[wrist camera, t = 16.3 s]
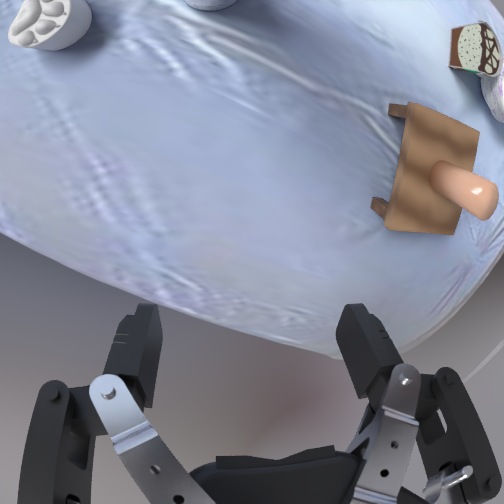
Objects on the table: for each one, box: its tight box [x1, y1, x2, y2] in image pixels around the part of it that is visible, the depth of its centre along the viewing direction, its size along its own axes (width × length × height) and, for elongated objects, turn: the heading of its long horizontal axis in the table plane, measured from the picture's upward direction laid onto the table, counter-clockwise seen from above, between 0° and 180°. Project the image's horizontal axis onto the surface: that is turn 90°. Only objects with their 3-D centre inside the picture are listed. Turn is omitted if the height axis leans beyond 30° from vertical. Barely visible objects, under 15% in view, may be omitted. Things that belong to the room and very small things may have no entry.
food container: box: [448, 20, 503, 79], centre depth 25 cm, size 12×6×10 cm, turn 171°
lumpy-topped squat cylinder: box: [8, 0, 92, 51], centre depth 20 cm, size 10×13×9 cm
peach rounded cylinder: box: [429, 160, 499, 221], centre depth 30 cm, size 5×5×11 cm
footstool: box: [371, 102, 480, 235], centre depth 38 cm, size 20×16×8 cm
